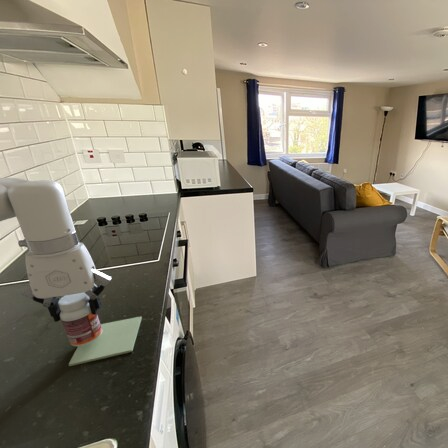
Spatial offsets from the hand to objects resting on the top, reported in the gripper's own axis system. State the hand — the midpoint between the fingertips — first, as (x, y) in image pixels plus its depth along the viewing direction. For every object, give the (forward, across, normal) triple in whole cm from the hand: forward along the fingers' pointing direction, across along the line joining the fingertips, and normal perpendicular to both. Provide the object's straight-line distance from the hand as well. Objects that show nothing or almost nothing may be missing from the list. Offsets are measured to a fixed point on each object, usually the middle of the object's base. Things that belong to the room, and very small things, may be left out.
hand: (78, 313), depth 59 cm
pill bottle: (+7, 0, 0) cm, 7 cm away
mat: (+9, +4, 0) cm, 10 cm away
